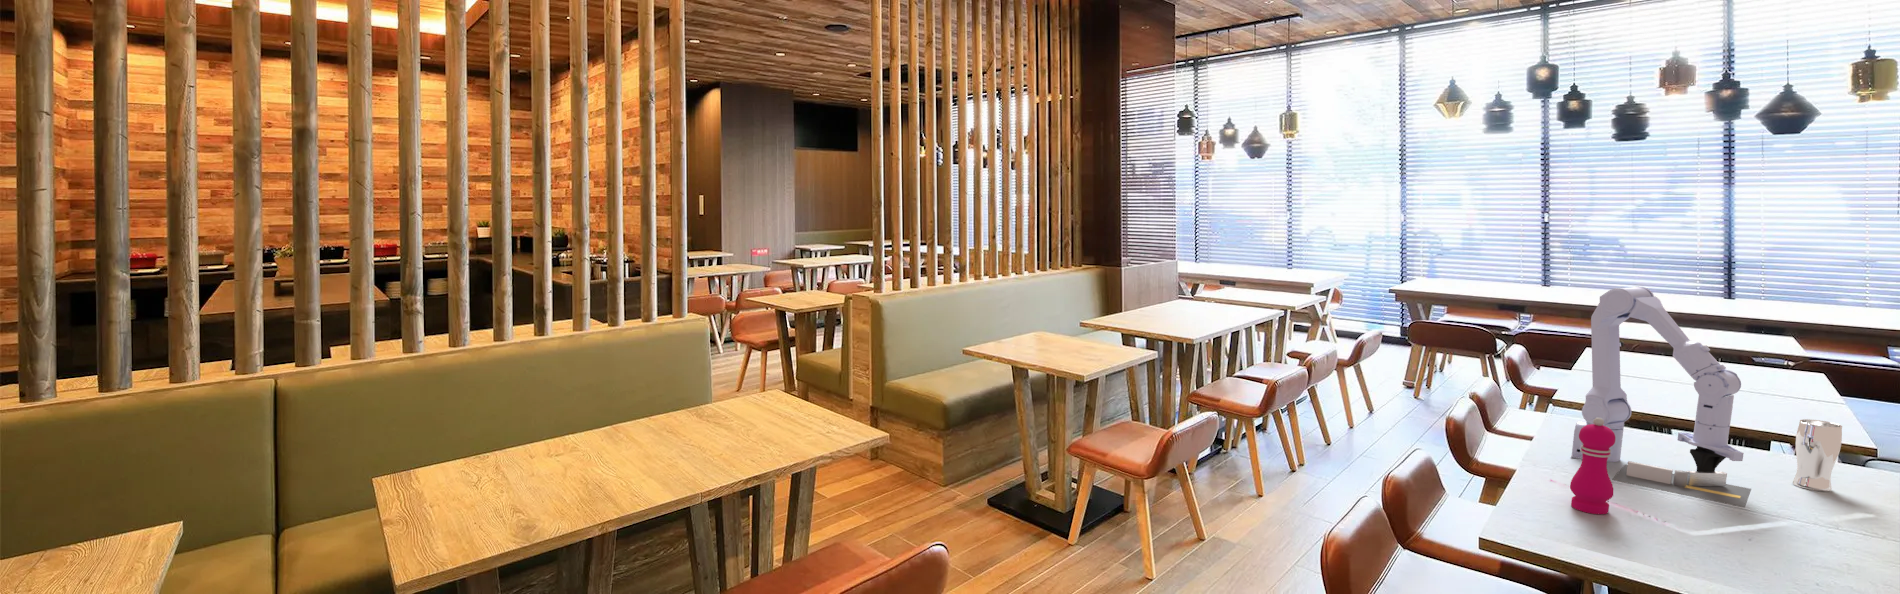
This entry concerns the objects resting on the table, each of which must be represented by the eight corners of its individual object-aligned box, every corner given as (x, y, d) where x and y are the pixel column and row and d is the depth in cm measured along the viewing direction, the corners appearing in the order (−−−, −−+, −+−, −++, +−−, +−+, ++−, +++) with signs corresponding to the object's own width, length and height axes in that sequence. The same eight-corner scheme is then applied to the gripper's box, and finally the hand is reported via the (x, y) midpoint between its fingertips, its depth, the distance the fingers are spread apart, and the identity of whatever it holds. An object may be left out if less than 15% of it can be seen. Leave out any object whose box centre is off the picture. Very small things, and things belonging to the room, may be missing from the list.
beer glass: (1813, 482, 186) (1822, 419, 184) (1843, 493, 179) (1853, 428, 177) (1780, 481, 187) (1789, 418, 185) (1809, 492, 180) (1818, 427, 178)
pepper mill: (1619, 516, 166) (1629, 423, 164) (1579, 514, 168) (1589, 421, 165) (1598, 503, 173) (1608, 414, 171) (1561, 501, 175) (1570, 412, 172)
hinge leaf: (1688, 485, 181) (1690, 472, 181) (1684, 483, 182) (1686, 470, 182) (1725, 486, 181) (1727, 473, 180) (1720, 484, 182) (1722, 471, 182)
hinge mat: (1611, 483, 186) (1613, 466, 185) (1624, 467, 196) (1626, 451, 196) (1744, 510, 169) (1746, 492, 169) (1750, 492, 180) (1752, 475, 179)
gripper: (1667, 414, 188) (1660, 469, 190) (1722, 432, 174) (1714, 492, 176) (1698, 414, 188) (1691, 470, 190) (1756, 433, 173) (1748, 493, 175)
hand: (1704, 481), depth 183 cm, fingers closed, pressing on hinge leaf
